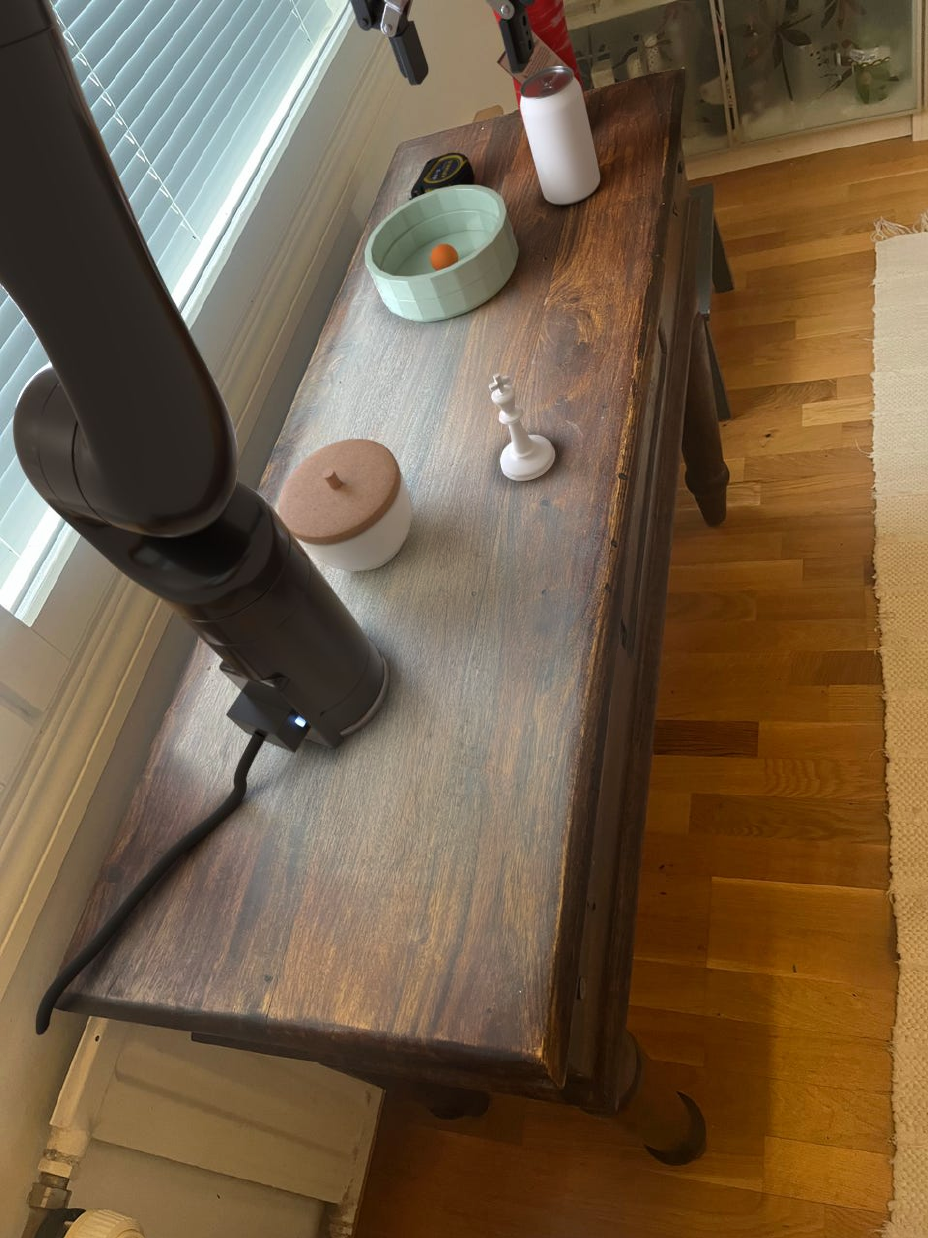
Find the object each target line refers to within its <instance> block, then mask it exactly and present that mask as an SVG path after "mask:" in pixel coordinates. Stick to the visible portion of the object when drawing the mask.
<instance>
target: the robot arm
mask: <svg viewBox="0 0 928 1238" xmlns="http://www.w3.org/2000/svg"><path fill="white" fill-rule="evenodd" d="M349 1H350V4H351V8H352V10H353V13H354V16H355V20H356V23H357V25H358V27H359V28H360V29H361V30H362V31H365V32H368V31H371V29H374V30H377V31H381V32H382V34H383V35H385V37H387V38H388V41H389V43H390V47H391V49H392V52H393V55H394V58H395V61H396V63H397V67H398V69H399V73H401V75H402V77H403V78H404V79H407V81H408V84H409V85H410V86H419V85H421V84H422V83H423V82H424V80H425V79H426V78H427V77H428V75H429V70H430V69H429V63H428V61H427V58H426V54H425V52H424V49H423V45H422V41H421V39H420V36H419V32H418V30H417V26H416V24H415V20H409V17H410V12H411V8H412V6H413V2H414V0H349ZM535 1H536V0H484V2H486V4H487V5H489V6H490V7H491V9H492V8H493V9H494V10H495V11H496V12H497V13H498V14H499V15H500V16H501V19H500V20H499V22H498V23H499V26H498V28H499V27H500V29H499V31H500V35H501V38H502V43H503V47H504V51H506V54H507V58H508V62H509V66H510V70H511V72H512V73H513V74H515V73H522V72H523V71H524V69H525V68H526V66H527V65H528V63H529V61H530V57H531V56H532V54H533V53H534V41H533V37H532V32H531V28H530V23H529V19H528V15H527V10H526V6H531V5H533V4H534V3H535ZM493 9H492V10H493ZM498 23H497V24H498ZM0 286H1V287H2V289H3V290H4V291H5V292H6V294H7V295H8V296H9V298H10V299H11V301H12V302H13V304H15V306H16V307H17V308H18V310H19V311H20V313H21V314H22V316H23V317H24V319H25V320H26V322H27V323H28V325H29V326H30V328H31V330H32V331H33V333H34V335H35V337H36V338H37V340H38V341H39V344H40V345H41V347H42V349H43V351H44V352H45V354H46V356H47V359H48V360H49V363H47V364H46V365H44V366H43V367H41V368H40V369H39V370H38V371H37V372H36V373H35V374H34V375H33V376H31V378H30V379H29V380H28V381H27V382H26V384H25V386H23V389H22V390H21V392H20V394H19V396H18V398H17V401H16V404H15V408H14V412H13V419H12V437H13V445H14V449H15V452H16V456H17V459H18V462H19V464H20V467H21V469H22V471H23V473H24V475H25V477H26V478H27V480H28V481H29V483H30V485H31V486H32V487H33V488H34V490H35V491H36V492H37V494H38V495H39V497H41V498H42V500H43V501H45V503H46V504H47V505H48V506H49V507H50V508H51V509H52V510H53V511H54V512H55V513H56V514H57V515H58V516H59V517H60V518H61V519H63V521H64V522H66V523H67V524H68V525H69V526H70V527H71V528H72V529H73V530H74V531H76V533H78V534H79V536H80V537H82V538H83V539H84V540H86V542H87V543H89V544H90V545H91V546H92V547H93V548H94V549H95V550H96V551H97V552H99V554H101V555H102V556H103V558H105V559H106V560H107V561H108V562H109V563H111V564H112V565H113V566H114V568H116V569H117V570H118V571H119V572H121V573H122V574H123V575H124V576H126V577H127V578H128V579H130V580H131V581H132V582H134V583H135V584H137V585H138V586H139V587H142V588H143V589H145V590H146V591H148V592H149V593H151V594H153V595H154V596H155V597H157V598H159V599H160V600H161V601H162V602H164V603H165V604H166V606H168V608H170V609H171V610H172V611H173V612H174V613H175V614H176V615H177V616H178V617H179V618H180V619H181V620H182V621H183V622H184V623H185V624H186V625H187V626H188V627H189V628H190V629H191V630H192V631H193V632H194V633H195V634H196V635H197V636H198V637H199V638H200V639H201V640H202V641H203V642H204V643H205V644H206V646H207V647H209V648H210V649H211V650H212V651H213V652H214V653H215V654H216V655H217V656H218V657H219V658H220V659H221V662H220V664H219V666H218V668H219V671H220V672H221V673H223V675H225V677H226V678H228V680H230V681H231V683H232V684H233V685H234V686H235V687H237V688H238V689H239V690H240V692H239V694H238V695H237V697H236V698H235V700H234V701H233V703H232V704H231V706H230V707H229V709H228V710H227V712H226V713H225V716H226V717H227V718H229V719H230V720H231V721H232V722H233V723H234V724H235V725H236V726H237V727H238V728H239V729H241V730H242V731H243V732H244V733H245V734H247V735H249V736H251V738H250V739H249V741H248V743H247V745H246V747H245V749H244V751H243V753H242V755H241V757H240V759H239V761H238V763H237V766H236V768H235V771H234V774H233V789H232V790H231V792H230V794H229V795H228V796H227V797H226V799H225V800H224V801H223V802H222V803H221V804H220V805H219V807H218V808H217V809H216V810H215V811H213V812H212V813H211V814H210V815H209V816H208V817H206V818H205V819H204V820H203V821H201V822H200V823H199V824H197V825H196V826H195V827H194V828H193V829H191V830H190V831H189V832H188V833H186V834H185V835H184V836H182V838H181V839H179V840H178V841H176V843H175V844H174V845H173V846H172V847H171V848H169V850H167V851H166V852H165V853H164V854H163V856H161V858H160V859H159V860H158V861H157V862H156V863H155V864H154V865H153V867H152V868H151V869H150V870H149V871H148V872H147V873H146V874H145V875H144V876H143V877H142V879H141V880H140V881H139V882H138V883H137V885H135V887H134V888H133V889H132V891H130V893H129V894H128V896H126V898H125V899H124V901H123V902H122V903H121V904H120V905H119V907H118V908H117V909H116V910H115V912H114V913H113V914H112V915H111V917H110V918H109V919H108V920H107V922H105V924H104V926H103V927H102V928H101V929H100V931H99V932H98V933H97V934H96V935H95V936H94V937H93V939H92V940H91V941H90V942H89V943H88V944H87V945H86V947H85V948H84V949H83V950H82V951H80V953H79V954H78V955H77V956H76V957H75V958H73V960H72V961H71V962H70V963H69V964H68V965H67V966H66V967H65V968H64V969H63V970H62V971H61V973H60V974H59V975H58V976H56V978H55V979H54V981H53V982H52V983H51V985H50V986H49V987H48V988H47V990H46V992H45V993H44V994H43V996H42V999H41V1001H40V1003H39V1005H38V1008H37V1011H36V1014H35V1015H36V1016H35V1034H36V1035H38V1036H41V1035H43V1034H45V1032H46V1031H47V1030H48V1029H49V1026H50V1024H51V1017H52V1014H53V1011H54V1008H55V1006H56V1003H57V1002H58V1000H59V998H60V997H61V996H62V995H63V992H64V991H65V990H66V989H67V988H68V987H69V985H70V984H71V983H72V982H73V981H74V980H75V979H76V977H78V975H79V974H80V973H81V972H83V970H84V969H85V968H86V967H87V966H88V965H89V964H90V963H91V962H92V961H93V960H94V959H95V958H96V956H98V955H99V953H101V951H102V950H103V949H104V948H105V946H107V944H108V943H109V942H110V941H111V940H112V938H113V937H114V936H115V934H116V933H117V932H118V930H120V928H121V927H122V926H123V924H124V923H125V922H126V920H127V919H128V918H129V917H130V916H131V914H132V913H133V912H134V910H136V908H137V906H138V905H139V904H140V903H141V902H142V901H143V899H144V898H145V897H146V896H147V895H148V893H149V892H150V891H151V889H153V887H154V886H155V885H156V883H158V882H159V880H160V879H161V878H162V877H163V876H164V875H165V874H166V873H167V872H168V870H170V868H171V867H172V866H173V865H175V863H176V862H177V861H178V860H179V859H180V858H181V857H182V856H183V855H184V854H185V853H186V852H187V851H189V850H190V849H191V848H192V847H193V846H194V845H196V844H197V843H198V842H200V840H202V839H203V838H205V836H207V835H208V834H209V833H210V832H212V830H214V829H215V828H216V827H217V826H219V825H220V823H222V822H223V821H224V820H225V819H226V818H227V817H228V816H230V814H231V813H232V812H234V810H236V808H237V807H238V806H239V804H241V802H242V800H243V798H244V797H245V796H246V793H247V789H248V780H247V779H248V775H249V773H250V769H251V767H252V766H253V763H254V761H255V759H256V757H257V755H258V754H259V752H260V750H261V748H262V746H263V744H264V742H267V743H269V744H271V745H273V746H276V747H278V748H281V749H284V750H286V751H288V752H290V753H293V754H296V753H297V751H298V749H300V746H301V745H302V743H303V742H304V740H306V741H312V742H314V743H317V744H319V745H322V746H325V747H327V748H330V749H332V750H335V749H337V748H338V747H339V745H340V744H341V742H342V741H343V739H344V738H345V737H347V736H349V735H352V734H354V733H355V732H356V731H359V730H360V729H362V727H364V726H365V725H366V724H367V723H369V722H370V720H371V719H372V718H373V717H374V716H375V715H376V714H377V712H378V711H379V709H380V708H381V706H382V705H383V702H384V701H385V699H386V696H387V693H388V690H389V684H390V669H389V664H388V661H387V660H386V657H385V655H384V654H383V653H382V651H381V650H380V649H379V647H378V646H377V645H376V644H374V642H373V640H372V639H371V638H370V637H369V636H368V635H367V633H366V632H365V630H364V629H363V628H362V626H361V625H360V624H359V622H358V621H357V620H356V618H355V616H353V614H352V613H351V611H350V610H349V609H348V607H347V606H346V605H345V603H344V602H343V601H342V599H341V598H340V597H339V595H338V593H336V591H335V590H334V588H333V587H332V586H331V584H330V583H329V581H327V578H326V577H325V576H324V575H323V573H322V572H321V571H320V569H319V568H318V567H317V566H316V564H315V562H313V560H312V558H311V557H310V556H309V554H308V552H307V551H306V550H305V549H304V548H303V547H302V546H301V544H300V543H299V542H298V541H297V539H296V538H295V537H294V535H293V534H292V533H291V531H290V530H289V529H288V527H287V526H286V525H285V523H284V522H283V521H282V519H281V518H280V516H279V513H277V511H276V510H275V509H274V507H273V506H272V505H271V503H270V502H269V501H268V500H267V499H266V498H265V497H264V496H263V495H262V494H261V493H259V492H258V491H256V490H255V489H254V488H251V487H250V486H248V485H247V484H245V483H243V482H242V481H240V480H238V472H239V448H238V442H237V434H236V430H235V427H234V422H233V419H232V415H231V413H230V411H229V408H228V406H227V403H226V401H225V398H224V396H223V393H222V392H221V390H220V387H219V386H218V384H217V381H216V380H215V377H214V375H213V374H212V373H213V372H212V371H211V370H210V368H209V366H208V364H207V362H206V359H205V358H204V356H203V355H202V352H201V350H200V348H199V346H198V343H196V340H195V339H194V337H193V335H192V333H191V331H190V329H189V327H188V325H187V323H186V322H185V319H184V318H183V315H182V314H181V312H180V310H179V308H178V306H177V304H176V302H175V300H174V298H173V296H172V294H171V292H170V291H169V288H168V286H167V284H166V282H165V280H164V278H163V276H162V274H161V272H160V270H159V267H158V265H157V263H156V261H155V259H154V257H153V254H152V252H151V250H150V248H149V246H148V244H147V241H146V238H145V236H144V234H143V232H142V229H141V227H140V225H139V222H138V220H137V217H136V215H135V212H134V209H133V207H132V205H131V203H130V200H129V198H128V195H127V192H126V189H125V187H124V185H123V182H122V181H121V178H120V176H119V174H118V170H117V168H116V166H115V163H114V162H113V159H112V157H111V154H110V151H109V149H108V147H107V145H106V143H105V140H104V138H103V135H102V133H101V131H100V129H99V126H98V124H97V121H96V119H95V116H94V114H93V111H92V110H91V106H90V105H89V102H88V99H87V96H86V95H85V92H84V89H83V86H82V84H81V81H80V78H79V75H78V72H77V71H76V67H75V65H74V61H73V59H72V56H71V53H70V50H69V48H68V44H67V42H66V39H65V36H64V34H63V31H62V27H61V26H60V23H59V21H58V18H57V15H56V13H55V10H54V8H53V5H52V3H51V0H0Z"/></svg>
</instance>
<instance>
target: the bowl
mask: <svg viewBox="0 0 928 1238" xmlns="http://www.w3.org/2000/svg"><path fill="white" fill-rule="evenodd" d="M506 206H507V205H506V203H505V199H504V198H503V197H502V196H501V195H500V194H499V193H497V192H496V191H495V190H494V189H493V188H490V187H487V186H483V185H479V184H474V185H455V186H450V187H445V188H440V189H436V190H433V191H431V192H428V193H425V194H423V195H420V196H418V197H415V198H414V199H412V200H409V201H407V202H405V203H403V204H402V205H400V206H398V207H397V208H395V209H394V210H393V211H392V212H391V213H390V214H388V216H386V217H385V218H383V219H382V221H381V222H379V223H378V224H377V226H376V228H375V229H374V230H373V232H372V233H371V234H370V235H369V238H368V241H367V243H366V246H365V249H364V260H365V265H366V266H365V267H366V269H367V270H368V272H369V274H370V277H371V278H372V281H373V283H374V286H375V287H376V289H377V291H378V294H379V295H380V298H381V300H382V302H383V303H384V305H385V306H386V307H387V308H388V310H389V311H390V312H391V313H393V314H395V315H397V316H399V317H401V318H404V319H406V320H408V321H414V322H421V323H422V322H423V323H424V322H425V323H428V322H438V321H444V320H448V319H452V318H455V317H458V316H462V315H463V314H467V313H468V312H471V311H473V310H475V309H476V308H478V307H480V306H481V305H483V304H484V303H486V302H488V301H489V300H490V299H492V298H493V297H494V296H495V295H496V294H497V293H499V292H500V291H501V289H502V288H503V287H504V286H505V285H506V284H507V283H508V282H509V279H510V278H511V276H512V275H513V273H514V270H515V268H516V266H517V263H518V257H519V252H520V250H519V249H520V248H519V246H518V243H517V239H516V236H515V232H514V229H513V227H512V223H511V220H510V216H509V213H508V210H507V207H506ZM440 244H449V245H451V246H452V247H454V248H455V250H456V251H457V253H458V262H457V263H455V264H453V265H452V266H449V267H447V268H444V269H441V270H439V271H436V270H435V269H434V268H433V266H432V264H431V253H432V251H433V249H434V248H435V247H436V246H438V245H440Z"/></svg>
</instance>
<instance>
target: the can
mask: <svg viewBox="0 0 928 1238" xmlns="http://www.w3.org/2000/svg"><path fill="white" fill-rule="evenodd" d="M520 94H521V101H520V110H521V114H522V118H523V121H522V123H523V122H524V125H523V127H524V126H525V128H524V130H525V132H526V133H525V134H526V136H527V140H528V143H529V147H530V151H531V156H532V159H533V163H534V166H535V169H536V170H535V171H536V173H537V177H538V180H539V184H540V187H541V191H542V194H543V197H544V199H545V200H546V201H547V202H549V203H550V204H552V205H554V206H562V207H563V206H571V205H575V204H577V203H580V202H582V201H584V200H586V199H587V198H590V196H592V195H593V194H594V192H595V191H596V190H597V189H598V186H599V185H600V182H601V173H600V168H599V164H598V163H599V162H598V159H597V154H596V149H595V145H594V140H593V135H592V131H591V126H590V121H589V118H588V117H589V116H588V112H587V109H586V107H587V106H586V107H585V102H586V101H585V102H584V98H583V93H582V89H581V86H580V84H579V82H578V81H577V79H576V78H575V77H574V72H573V70H572V69H571V68H570V67H567V66H552V67H548V68H545V69H542V70H540V71H537V72H536V73H534V74H532V75H531V76H529V77H528V78H527V79H526V80H525V81H524V82H523V83H522V85H521V87H520ZM521 114H520V115H521ZM522 118H521V119H522Z"/></svg>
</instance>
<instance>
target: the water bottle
mask: <svg viewBox="0 0 928 1238" xmlns="http://www.w3.org/2000/svg"><path fill="white" fill-rule="evenodd" d="M491 9H492V12H493V16H494V17H495V19H496V24H497V26H498V29H499V30H500V27H499V23H498V22H499V20H500V19H501V16H500V15H499V14H498V13H497V12H496V11H495V10H494V9H493V8H492V7H491ZM526 10H527V15H528V19H529V23H530V28H531V32H532V37H533V41H534V53H533V54H532V56H531V57H530V61H529V63H528V65H527V66H526V68H525V69H524V71H523V72H522V73H515V74H513V73H512V72H511V70H510V66H509V62H508V58H507V54H506V51H505V50H504V51H503V52H502V54H501V55H500V57H499V58H498V59H497V60H496V63H497V64H498V65H499V66H500V67H501V68H502V69H503V70H504V71H505V72H506V73H508V74H509V75H510V76H511V77H512V81H513V87H514V92H515V97H516V103H517V107H518V112H519V114H520V117H521V121H522V124H523V128H524V129H525V126H524V122H523V118H522V114H521V110H520V101H521V94H520V87H521V85H522V83H523V82H524V81H525V80H526V79H527V78H528V77H529V76H531V75H532V74H534V73H536V72H537V71H540V70H542V69H545V68H548V67H552V66H567V67H570V68H571V69H572V70H573V72H574V77H575V78H576V79H577V81H578V82H579V84H580V86H581V89H582V93H583V98H584V102H585V107H586V110H587V109H588V108H587V102H586V97H585V92H584V87H583V82H582V77H581V74H580V70H579V66H578V62H577V59H576V56H575V55H576V54H575V52H574V49H573V45H572V41H571V38H570V34H569V29H568V25H567V20H566V14H565V7H564V0H536V1H535V3H534V4H533V5H531V6H526Z"/></svg>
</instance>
